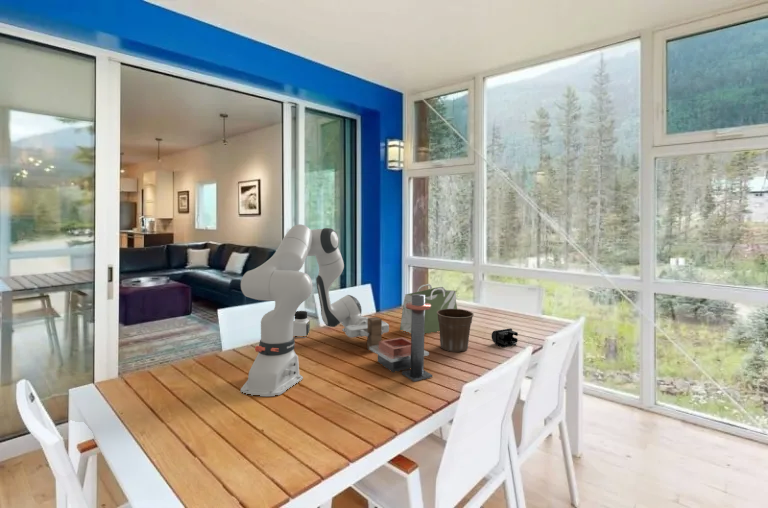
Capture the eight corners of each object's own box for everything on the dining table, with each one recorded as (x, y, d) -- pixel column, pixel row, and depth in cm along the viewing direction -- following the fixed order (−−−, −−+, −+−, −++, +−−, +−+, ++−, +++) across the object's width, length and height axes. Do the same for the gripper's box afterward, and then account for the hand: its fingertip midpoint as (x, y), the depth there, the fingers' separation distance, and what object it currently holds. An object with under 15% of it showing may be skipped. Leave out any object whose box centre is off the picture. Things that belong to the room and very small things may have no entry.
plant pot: (472, 355, 170) (474, 318, 169) (434, 352, 174) (435, 315, 172) (472, 343, 186) (473, 309, 185) (437, 341, 190) (438, 307, 188)
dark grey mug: (506, 340, 192) (507, 326, 192) (518, 344, 186) (518, 330, 185) (490, 343, 188) (491, 329, 187) (501, 347, 181) (502, 333, 181)
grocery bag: (416, 336, 197) (417, 290, 195) (398, 330, 208) (399, 286, 206) (461, 326, 216) (462, 284, 214) (442, 321, 227) (443, 281, 225)
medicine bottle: (306, 337, 193) (306, 313, 192) (291, 337, 193) (291, 312, 192) (309, 333, 200) (309, 309, 199) (295, 333, 201) (295, 309, 200)
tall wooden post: (367, 349, 177) (367, 318, 176) (376, 347, 179) (376, 317, 178) (372, 352, 173) (372, 320, 172) (381, 350, 175) (381, 319, 174)
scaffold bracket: (369, 361, 162) (369, 287, 159) (404, 354, 170) (405, 284, 168) (404, 384, 139) (405, 299, 137) (443, 375, 148) (444, 295, 145)
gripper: (340, 322, 181) (353, 329, 169) (380, 317, 191) (395, 323, 179) (340, 335, 182) (353, 344, 170) (379, 330, 192) (395, 337, 180)
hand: (375, 333), depth 175 cm, fingers open, 5 cm apart
